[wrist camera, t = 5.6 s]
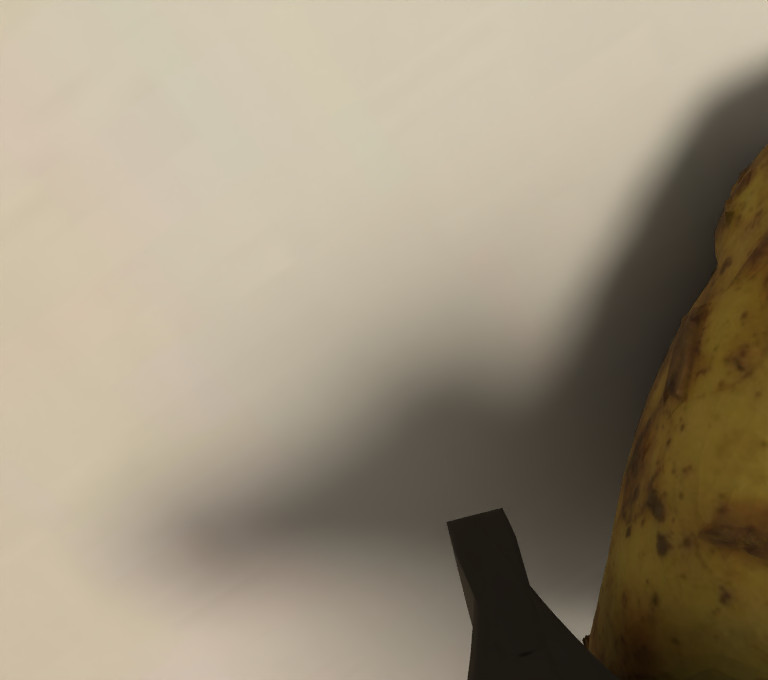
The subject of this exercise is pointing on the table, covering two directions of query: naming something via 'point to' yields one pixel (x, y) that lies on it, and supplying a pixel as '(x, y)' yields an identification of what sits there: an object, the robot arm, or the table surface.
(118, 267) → the table surface
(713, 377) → the potato
